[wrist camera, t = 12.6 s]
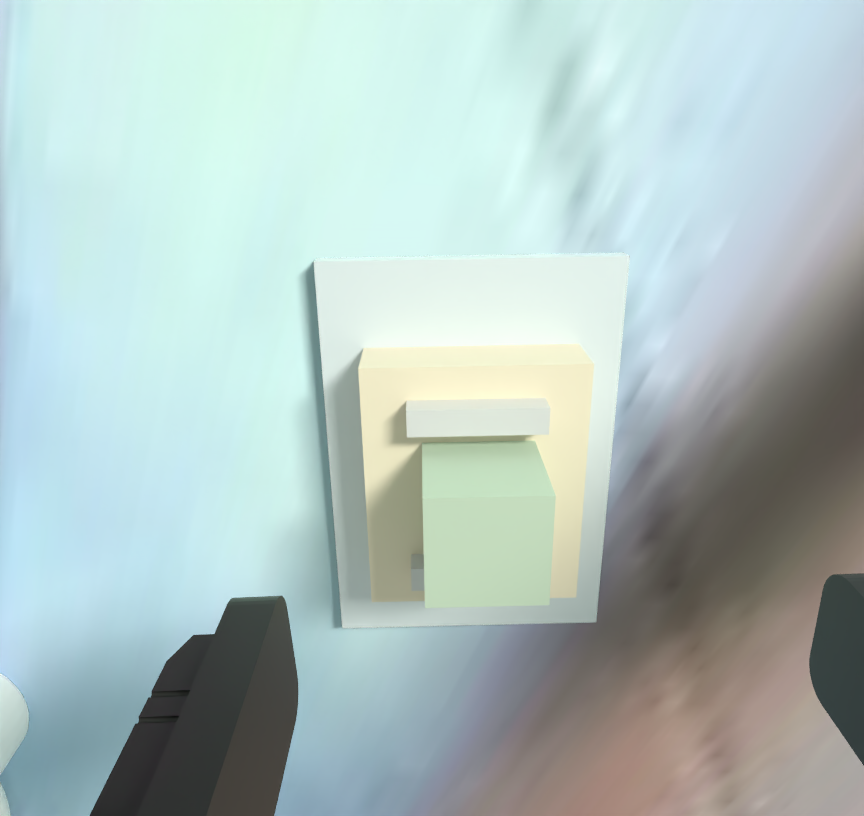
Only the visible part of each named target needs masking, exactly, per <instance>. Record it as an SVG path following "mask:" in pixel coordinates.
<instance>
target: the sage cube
mask: <svg viewBox="0 0 864 816" xmlns="http://www.w3.org/2000/svg"><path fill="white" fill-rule="evenodd" d="M555 500H556V495H555V492H554V490H553V487H552V484H551V482H550V479H549V476H548V474H547V471H546V468H545V466H544V463H543V461H542V458H541V455H540V453H539V450H538V447H537V445H536V442H535V440H527V441H480V442H432V443H422V501H423V544H424V587H425V608H451V607H493V606H536V605H549V602H550V585H551V568H552V551H553V534H554V517H555Z"/></svg>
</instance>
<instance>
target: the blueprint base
mask: <svg viewBox="0 0 864 816" xmlns="http://www.w3.org/2000/svg"><path fill="white" fill-rule="evenodd" d="M629 259H630V256H629V255H627V254H625V253H624V252H621V253H564V254H507V255H450V256H394V257H337V258H316V259H315V260H314V274H315V287H316V300H317V312H318V325H319V338H320V351H321V364H322V376H323V389H324V402H325V415H326V428H327V440H328V453H329V466H330V479H331V492H332V504H333V517H334V530H335V543H336V555H337V568H338V581H339V594H340V607H341V619H342V628H378V627H421V626H464V625H507V624H549V623H592V622H596V619H597V608H598V597H599V586H600V575H601V564H602V553H603V542H604V532H605V521H606V510H607V499H608V488H609V477H610V466H611V455H612V444H613V433H614V422H615V411H616V401H617V390H618V379H619V368H620V357H621V346H622V335H623V324H624V313H625V302H626V291H627V280H628V270H629ZM527 440H535V442H536V445H537V447H538V450H539V453H540V455H541V458H542V461H543V463H544V466H545V468H546V471H547V474H548V476H549V479H550V482H551V484H552V487H553V490H554V492H555V495H556V500H555V517H554V534H553V551H552V568H551V585H550V602H549V605H536V606H493V607H451V608H425V587H424V544H423V501H422V443H432V442H480V441H527Z"/></svg>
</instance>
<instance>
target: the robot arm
mask: <svg viewBox="0 0 864 816" xmlns="http://www.w3.org/2000/svg"><path fill="white" fill-rule="evenodd" d="M809 666H810V675H811V680H812V684H813V687H814V690H815V692H816V695H817V697H818V699H819V701H820V702H821V704H822V706H823V707H824V709H825V710H826V711H827V713H828V714H829V716H830V717H831V719H832V720H833V722H834V723H835V725H836V726H837V727H838V729H839V730H840V732H841V733H842V735H843V736H844V738H845V739H846V740H847V742H848V743H849V745H850V746H851V748H852V749H853V751H854V752H855V754H856V755H857V756H858V758H859V759H860V761H861V762H862V764H863V765H864V573H862V574H837V575H832V576H830V577H829V578H828V579H827V580H826V582H825V584H824V588H823V592H822V597H821V602H820V608H819V613H818V618H817V623H816V628H815V633H814V638H813V643H812V648H811V653H810V660H809ZM297 706H298V678H297V670H296V664H295V657H294V651H293V644H292V638H291V631H290V625H289V618H288V612H287V606H286V602H285V599H284V598H283V597H282V596H268V597H243V598H232V599H231V600H230V601H229V602H228V604H227V606H226V609H225V611H224V613H223V616H222V618H221V620H220V623H219V625H218V627H217V630H216V632H215V634H208V635H193V636H192V637H191V638H190V639H189V640H188V641H187V642H186V643H185V644H184V645H183V646H182V647H181V648H180V649H179V650H178V651H177V652H176V653H175V654H174V655H173V656H172V657H171V658H170V659H169V660H167V662H166V664H165V666H164V668H163V670H162V672H161V674H160V676H159V678H158V680H157V682H156V684H155V686H154V688H153V690H152V696H151V698H148V700H147V702H146V704H145V706H144V708H143V710H142V712H141V714H140V716H139V722H138V724H135V726H134V728H133V730H132V732H131V734H130V736H129V738H128V740H127V742H126V744H125V746H124V748H123V750H122V752H121V754H120V756H119V758H118V760H117V762H116V764H115V766H114V768H113V770H112V772H111V774H110V776H109V778H108V780H107V782H106V784H105V786H104V788H103V790H102V792H101V794H100V796H99V798H98V800H97V802H96V804H95V806H94V808H93V810H92V812H91V814H90V816H274V814H275V809H276V805H277V801H278V796H279V792H280V787H281V783H282V779H283V774H284V770H285V765H286V761H287V757H288V752H289V748H290V744H291V739H292V735H293V730H294V726H295V721H296V715H297Z"/></svg>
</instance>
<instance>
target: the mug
mask: <svg viewBox="0 0 864 816" xmlns="http://www.w3.org/2000/svg"><path fill="white" fill-rule="evenodd" d="M28 726H29V711H28V707H27V704H26V701H25V699H24V697H23V695H22V694H21V692H20V691H19V690H18V688H17V687H16V686H15V685H14V684H13V683H12V682H11V681H10V680H9V679H8V678H7V677H6V676H4V675H3V674H1V673H0V775H1V773H2V772H3V770H4V769H5V767H6V766H7V764H8V763H9V761H10V759H11V758H12V756H13V755H14V753H15V752H16V750H17V749H18V747H19V746H20V744H21V743H22V741H23V740H24V738H25V736H26V733H27V730H28ZM0 816H11V814H10V808H9V803H8V799H7V797H6V794H5V791H4V789H3V787H2V785H1V783H0Z"/></svg>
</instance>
